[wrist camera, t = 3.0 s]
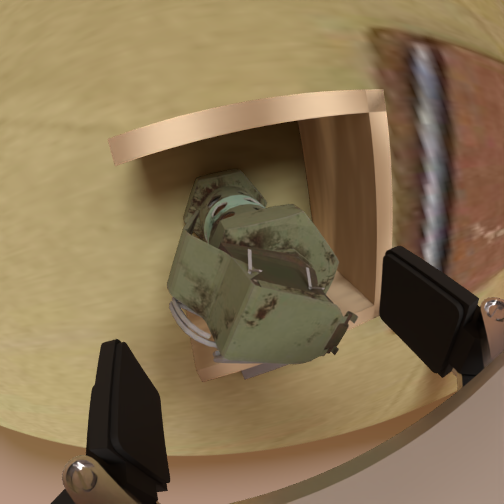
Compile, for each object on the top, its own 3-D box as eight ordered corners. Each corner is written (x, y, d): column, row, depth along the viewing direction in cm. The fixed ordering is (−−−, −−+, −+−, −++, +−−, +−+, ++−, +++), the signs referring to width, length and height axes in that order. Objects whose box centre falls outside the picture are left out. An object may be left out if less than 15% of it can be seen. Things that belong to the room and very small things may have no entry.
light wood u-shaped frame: (307, 97, 20) (383, 89, 12) (328, 258, 27) (386, 312, 19) (134, 134, 18) (107, 138, 10) (188, 303, 24) (202, 382, 17)
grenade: (184, 151, 19) (218, 203, 6) (268, 179, 22) (408, 266, 9) (155, 245, 22) (154, 412, 8) (235, 264, 24) (313, 414, 11)
